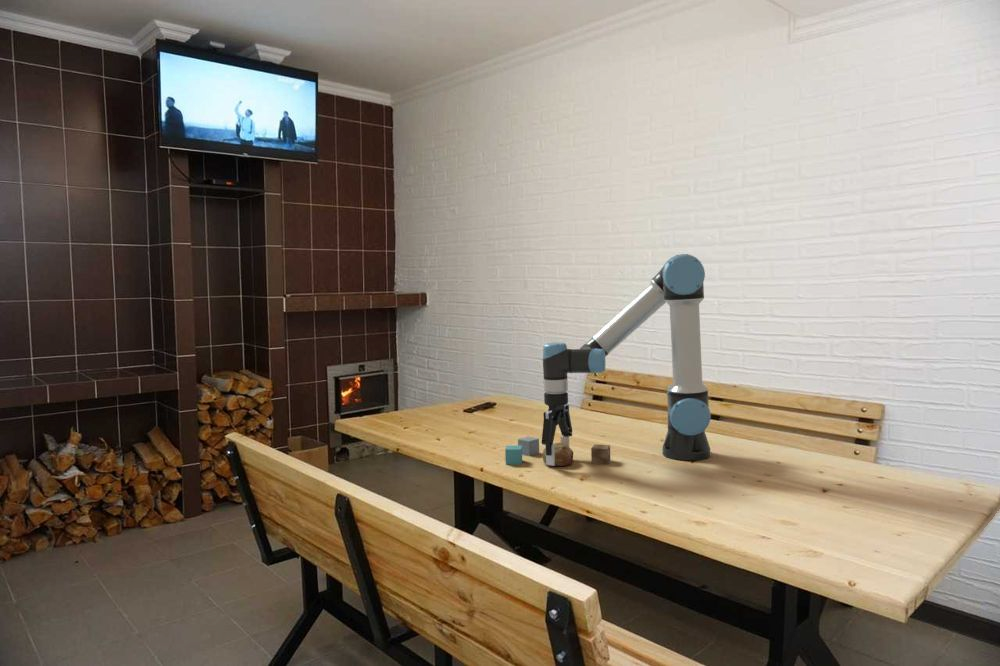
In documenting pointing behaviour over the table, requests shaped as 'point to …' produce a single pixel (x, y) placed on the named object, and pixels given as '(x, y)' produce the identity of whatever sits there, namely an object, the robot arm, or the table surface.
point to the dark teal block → (513, 455)
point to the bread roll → (561, 454)
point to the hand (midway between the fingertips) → (558, 460)
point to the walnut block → (600, 454)
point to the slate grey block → (529, 445)
